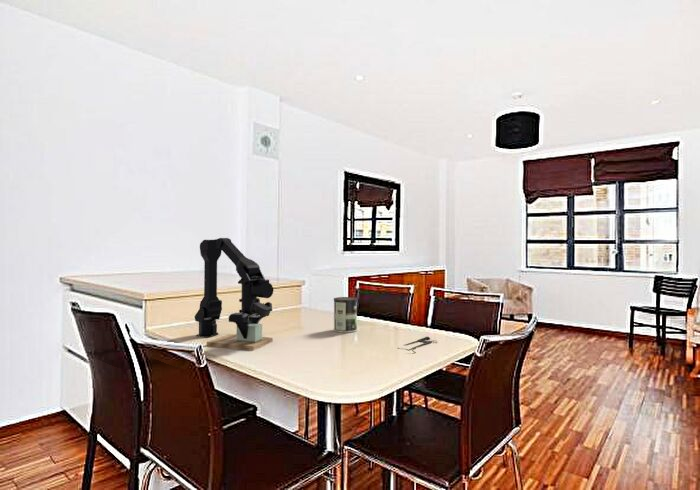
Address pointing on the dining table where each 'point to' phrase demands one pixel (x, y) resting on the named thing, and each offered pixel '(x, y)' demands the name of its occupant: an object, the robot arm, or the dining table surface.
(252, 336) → the block
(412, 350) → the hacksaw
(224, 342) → the oak board
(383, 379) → the dining table surface
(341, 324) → the coffee can
